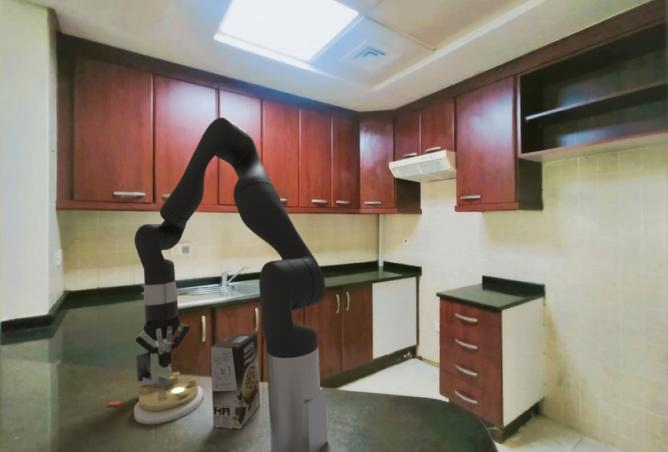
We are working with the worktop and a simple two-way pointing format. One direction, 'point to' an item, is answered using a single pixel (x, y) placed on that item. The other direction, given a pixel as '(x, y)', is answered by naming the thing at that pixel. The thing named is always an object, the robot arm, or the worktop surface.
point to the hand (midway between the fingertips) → (164, 366)
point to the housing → (167, 411)
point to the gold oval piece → (163, 387)
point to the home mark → (114, 403)
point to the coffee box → (235, 380)
